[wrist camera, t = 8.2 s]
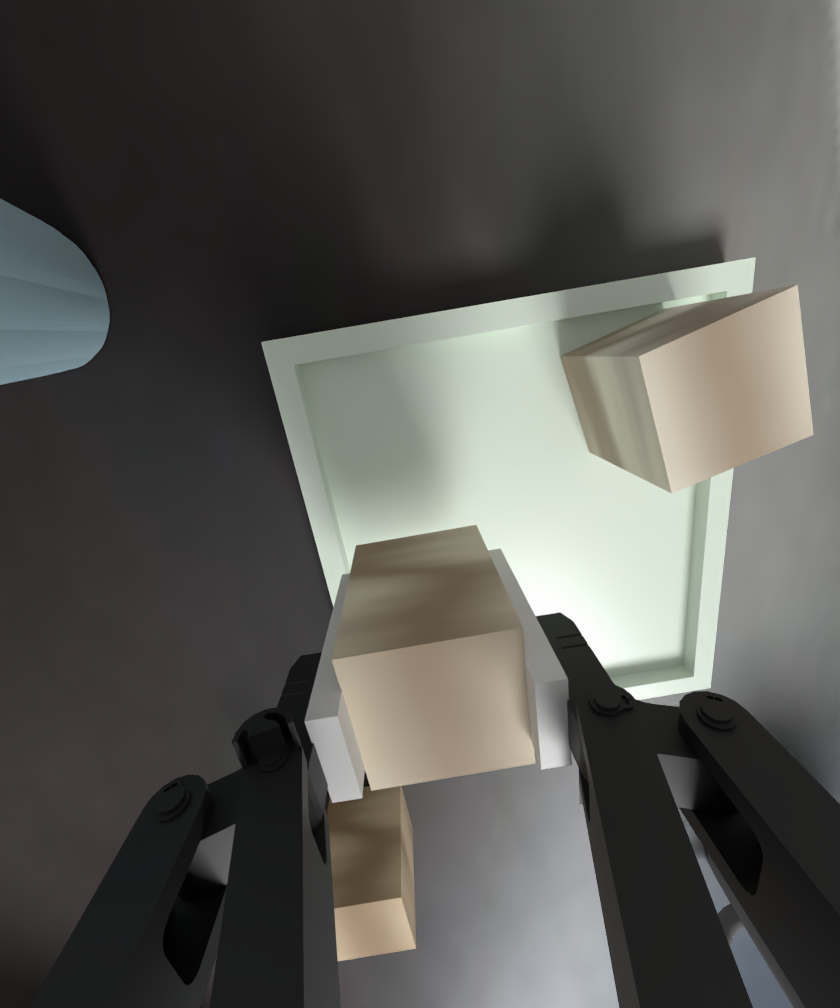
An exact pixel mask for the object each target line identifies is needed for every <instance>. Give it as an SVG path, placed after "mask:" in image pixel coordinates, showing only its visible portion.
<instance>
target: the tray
mask: <svg viewBox="0 0 840 1008" xmlns="http://www.w3.org/2000/svg"><path fill="white" fill-rule="evenodd" d="M755 259H756V257H755V258H749V259H743V260H737V261H731V262H725V263H720V264H714V265H708V266H702V267H696V268H690V269H685V270H679V271H673V272H667V273H661V274H655V275H650V276H644V277H638V278H632V279H626V280H620V281H614V282H609V283H603V284H597V285H591V286H585V287H579V288H574V289H568V290H562V291H556V292H550V293H544V294H539V295H533V296H527V297H521V298H515V299H509V300H504V301H498V302H492V303H486V304H480V305H474V306H469V307H463V308H457V309H451V310H445V311H439V312H434V313H428V314H422V315H416V316H410V317H404V318H399V319H393V320H387V321H381V322H375V323H369V324H364V325H358V326H352V327H346V328H340V329H334V330H329V331H323V332H317V333H311V334H305V335H299V336H294V337H288V338H282V339H276V340H270V341H264V342H261V344H262V348H263V351H264V355H265V359H266V362H267V366H268V370H269V373H270V377H271V381H272V384H273V388H274V392H275V395H276V399H277V403H278V406H279V410H280V414H281V417H282V421H283V425H284V428H285V432H286V436H287V439H288V443H289V447H290V450H291V454H292V458H293V461H294V465H295V469H296V472H297V476H298V479H299V483H300V487H301V490H302V494H303V498H304V501H305V505H306V509H307V512H308V516H309V520H310V523H311V527H312V531H313V534H314V538H315V542H316V545H317V549H318V553H319V556H320V560H321V564H322V567H323V571H324V575H325V578H326V582H327V586H328V589H329V593H330V597H331V600H332V604H333V608H334V604H335V600H336V596H337V592H338V588H339V584H340V580H341V576H342V574H348V573H350V571H351V566H352V562H353V557H354V552H355V547H356V545H362V544H368V543H373V542H379V541H385V540H391V539H396V538H402V537H408V536H414V535H420V534H425V533H431V532H437V531H443V530H448V529H454V528H460V527H466V526H472V525H477V527H478V529H479V532H480V534H481V536H482V538H483V541H484V543H485V545H486V547H487V549H488V550H493V549H499V548H501V550H502V552H503V554H504V556H505V558H506V560H507V562H508V564H509V566H510V568H511V570H512V572H513V574H514V575H515V577H516V579H517V581H518V583H519V585H520V587H521V589H522V591H523V593H524V595H525V597H526V599H527V601H528V603H529V604H530V606H531V608H532V610H533V612H534V614H535V616H540V615H546V614H552V613H559V612H561V613H562V614H564V615H565V616H566V617H568V618H569V619H571V620H572V621H574V623H575V624H576V626H577V628H578V629H579V631H580V632H581V635H582V636H583V637H584V638H585V640H586V641H587V643H588V646H590V648H591V649H592V651H593V652H594V654H595V655H596V657H597V658H598V660H599V661H600V663H601V664H602V666H603V668H604V669H605V671H606V672H607V674H608V675H609V677H610V678H611V680H612V681H613V683H614V684H615V685H617V686H619V687H621V688H624V689H625V690H626V691H627V692H629V693H630V694H631V695H632V696H633V697H634V698H635V699H636V700H641V699H647V698H653V697H659V696H665V695H671V694H677V693H683V692H689V691H695V690H701V689H707V688H711V678H712V669H713V659H714V650H715V640H716V631H717V621H718V612H719V602H720V593H721V583H722V573H723V564H724V554H725V545H726V535H727V526H728V516H729V507H730V497H731V488H732V478H733V469H734V468H732V469H730V470H727V471H725V472H723V473H720V474H718V475H715V476H713V477H711V478H708V479H706V480H703V481H701V482H699V483H696V484H694V485H691V486H689V487H687V488H684V489H682V490H679V491H677V492H675V493H670V492H668V491H666V490H664V489H662V488H660V487H658V486H656V485H654V484H652V483H650V482H648V481H646V480H644V479H642V478H640V477H638V476H636V475H634V474H632V473H630V472H628V471H626V470H624V469H622V468H620V467H618V466H616V465H614V464H612V463H610V462H608V461H606V460H604V459H602V458H600V457H598V456H596V455H594V454H592V453H590V452H589V450H588V446H587V443H586V440H585V437H584V433H583V430H582V427H581V424H580V420H579V417H578V414H577V410H576V407H575V404H574V401H573V397H572V394H571V391H570V388H569V384H568V381H567V378H566V375H565V371H564V368H563V365H562V362H561V358H560V356H562V355H564V354H566V353H569V352H571V351H573V350H575V349H577V348H579V347H582V346H584V345H586V344H588V343H590V342H592V341H595V340H597V339H599V338H601V337H603V336H606V335H608V334H610V333H612V332H614V331H616V330H619V329H621V328H623V327H625V326H627V325H629V324H632V323H634V322H636V321H638V320H640V319H642V318H645V317H647V316H649V315H651V314H653V313H656V312H658V311H660V310H662V309H665V308H671V307H676V306H682V305H687V304H693V303H699V302H704V301H710V300H715V299H721V298H726V297H732V296H738V295H743V294H749V293H752V288H753V278H754V269H755Z"/></svg>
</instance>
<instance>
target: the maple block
mask: <svg viewBox="0 0 840 1008" xmlns="http://www.w3.org/2000/svg"><path fill="white" fill-rule="evenodd" d="M560 358H561V362H562V365H563V368H564V371H565V375H566V378H567V381H568V384H569V388H570V391H571V394H572V397H573V401H574V404H575V407H576V410H577V414H578V417H579V420H580V424H581V427H582V430H583V433H584V437H585V440H586V443H587V446H588V450H589V452H590V453H592V454H594V455H596V456H598V457H600V458H602V459H604V460H606V461H608V462H610V463H612V464H614V465H616V466H618V467H620V468H622V469H624V470H626V471H628V472H630V473H632V474H634V475H636V476H638V477H640V478H642V479H644V480H646V481H648V482H650V483H652V484H654V485H656V486H658V487H660V488H662V489H664V490H666V491H668V492H670V493H675V492H677V491H679V490H682V489H684V488H687V487H689V486H691V485H694V484H696V483H699V482H701V481H703V480H706V479H708V478H711V477H713V476H715V475H718V474H720V473H723V472H725V471H727V470H730V469H732V468H735V467H737V466H739V465H742V464H744V463H747V462H749V461H751V460H754V459H756V458H759V457H761V456H763V455H766V454H768V453H771V452H773V451H775V450H778V449H780V448H783V447H785V446H787V445H790V444H792V443H795V442H797V441H800V440H802V439H804V438H807V437H809V436H812V435H813V426H812V417H811V408H810V398H809V389H808V379H807V370H806V360H805V351H804V341H803V332H802V322H801V313H800V303H799V294H798V285H794V286H788V287H782V288H777V289H771V290H766V291H760V292H754V293H749V294H743V295H738V296H732V297H726V298H721V299H715V300H710V301H704V302H699V303H693V304H687V305H682V306H676V307H671V308H665V309H662V310H660V311H658V312H656V313H653V314H651V315H649V316H647V317H645V318H642V319H640V320H638V321H636V322H634V323H632V324H629V325H627V326H625V327H623V328H621V329H619V330H616V331H614V332H612V333H610V334H608V335H606V336H603V337H601V338H599V339H597V340H595V341H592V342H590V343H588V344H586V345H584V346H582V347H579V348H577V349H575V350H573V351H571V352H569V353H566V354H564V355H562V356H560Z"/></svg>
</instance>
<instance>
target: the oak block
mask: <svg viewBox="0 0 840 1008" xmlns="http://www.w3.org/2000/svg"><path fill="white" fill-rule="evenodd" d="M327 819H328V822H329V837H330V852H331V867H332V883H333V898H334V913H335V929H336V944H337V959H338V961H343V960H349V959H355V958H361V957H367V956H373V955H379V954H385V953H391V952H397V951H404V950H410V949H416V930H415V898H414V865H413V833H412V825H411V821H410V817H409V813H408V809H407V805H406V801H405V797H404V793H403V789H402V786H397V787H391V788H385V789H379V790H373V791H371V788H370V786H368V787H363V797H362V798H361V799H355V800H348V801H342V802H336V803H332V801H331V798H329V805H328V811H327Z"/></svg>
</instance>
